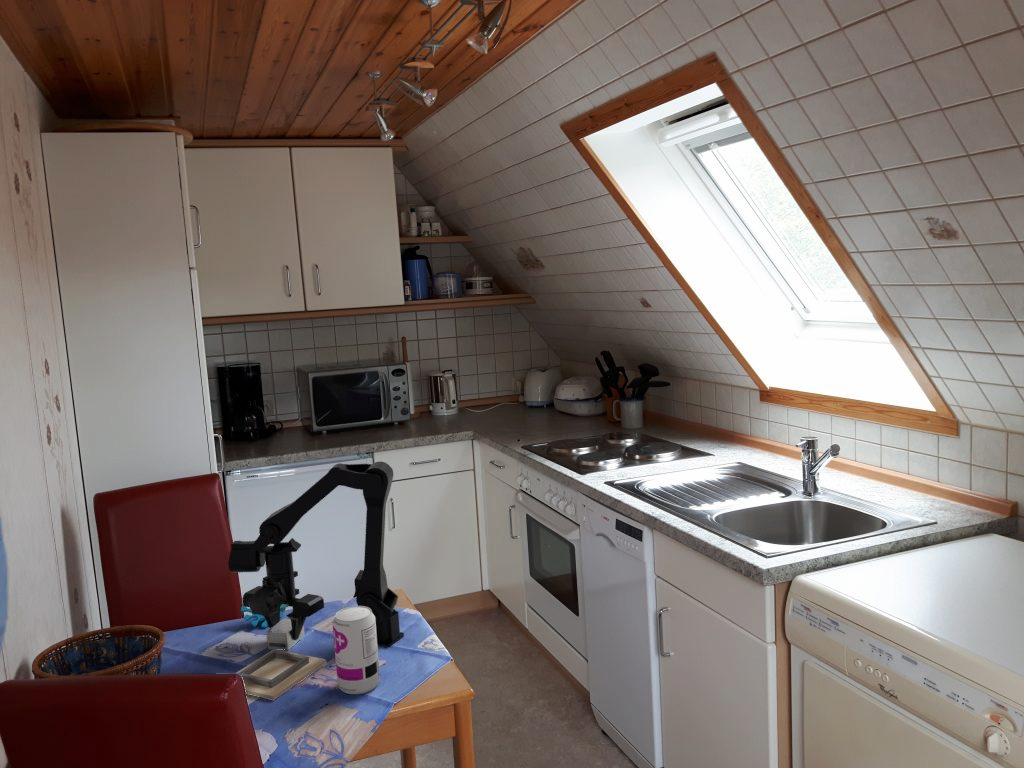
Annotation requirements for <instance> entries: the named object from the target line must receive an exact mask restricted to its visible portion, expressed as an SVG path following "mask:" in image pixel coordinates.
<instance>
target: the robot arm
mask: <svg viewBox="0 0 1024 768" xmlns="http://www.w3.org/2000/svg"><path fill="white" fill-rule="evenodd" d="M393 478H394V469H393V468H392V467H391V466H390V464H388V463H387V462H384V461H376V462H373V463H351V464H350V463H349V464H348V463H336V464H334V465H333V466H332V467H331V468H330V469H329V470H328V471H327V472H326V473H325V475H323V476H322V477H321V478H319V479H318V481H316V482H315V483H314V484H312V485H311V486H310V487H309V488H308V489H307V490H305V491H304V492H303V493H302V494H301V495H300V496H298V497H297V498H296V499H295V500H294V501H292V502H291V503H289V504H287V505H284V506H282V507H281V508H279V509H277V510H276V511H274V512H272V513H271V514H270V515H269V516H268V517H267V518H266V519H265V520H263V522H261V524H260V525H259V527H258V528H259V535H258V537H257V538H256V539H255V540H249V541H248V540H247V541H245V540H244V541H243V540H234V541H233V542H232V543H231V544H230V551H229V555H228V556H229V558H228V560H227V562H228V563H227V564H228V570H229V572H230V573H233V574H235V573H237V574H238V573H258V572H260V571H261V568H263V567H264V566H265V569H266V570H265V571H266V576H264V577H262V581H261V582H262V585H257V586H255V587H253V588H252V589H250V590H248V591H246V592H244V594H243V595H242V598H241V599H242V606H245V607H247V608H249V609H251V612H252V613H251V615H252V614H254V615H256V614H258V615H262V616H264V618H265V619H266V621H267V624H268V625H267V626H268V627H269V629H271V628H272V627H273V626H275V625H276V624H277V623H278V622H280V621H281V618H280V606H281V605H285V606H288V607H292V611H291V612H290V613H288V614H286V617H287V619H291V625H292V633H293V638H294V640H297V639H298V638H299V636H300V633H301V630H302V627H303V625H304V624H305V622H306V619H307V618H308V617H311V616H312V615H314V614H316V613H317V612H319V611H321V610H323V609H324V608H325V602H324V601H325V599H324V597H323V596H321V595H318V594H312V593H311V594H310V593H306V594H305V595H304V596H302V597H300V598H297V596H298V595H300V588H296V585H295V584H296V582H295V578H296V577H298V576H299V575H298V574H299V572H298V571H297V570H294V563H293V561H294V560H293V553H296V552H298V551H299V549H300V548H301V547H302V544H301V543H300V542H298V541H296V539H294V538H293V537H291V538H290V540H288V541H283V540H284V539H285V538H286V537H288V535H289V534H290V533H291V532H292V530H293V529H294V528H295V527H296V525H297V524H298V523H299V521H300V520H301V519H302V518H303V517H304V516H305V515H306V514H307V513H308V512H309V511H310V510H312V509H313V508H314V507H315V506H316V505H318V504H319V503H320V502H321V501H322V500H323V499H324V498H326V497H327V496H328V495H329V494H330V493H331V492H333V491H334V490H335V489H336V488H338V487H339V486H342V487H346V488H350V489H353V490H361V491H362V496H363V499H364V502H365V503H364V504H365V506H366V513H365V515H366V517H365V540H364V562H363V563H364V564H363V569H360V570H358V571H359V572H358V573H357V575H356V576H355V578H354V594H353V595H352V596H353V599H355V598H356V599H355V601H356V606H365V607H368V608H370V609H371V611H372V613H373V614H374V616H375V621H376V634H377V646H380V647H386V648H388V647H391V646H392V645H393V644H395V643H396V642H397V641H398V640H401V639H402V637H404V636H405V632H402V631H401V632H400V619H399V618H400V615H399V611H398V610H396V609H395V607H396V606H397V602H398V599H399V595H398V594H396V593H395V591H392V590H391V588H389V587H388V582H387V581H388V579H387V574H386V571H385V568H384V567H385V566H384V551H385V550H384V548H385V529H386V527H385V526H386V511H387V510H386V508H387V506H386V505H387V502H388V498H389V495H390V492H391V489H392V484H393V480H394V479H393ZM304 626H305V625H304Z"/></svg>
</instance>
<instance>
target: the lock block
mask: <svg viewBox="0 0 1024 768" xmlns="http://www.w3.org/2000/svg"><path fill="white" fill-rule="evenodd" d="M304 636H305V625H303V627H302V630H301V633H300V636H299V638H298V639H297V640H294V638H293V633H292V625H291V619H289V618H281V619H280V622H278V623H277V624H276V625H275V626H273V627H272V628H271V629H270V628H269V629H268V630H267V631H266V642H267V649H268V650H273V649H283V650H282V651H284V649H285V650H289V649H290V648H291V647H292V646H294V645H295V644H296V643H297V642H298V641H299V640H301V639H302V638H303V637H304ZM304 638H305V637H304ZM304 638H303V639H304ZM303 639H302V640H303ZM302 640H301V641H302ZM299 642H300V641H299ZM299 642H298V643H299ZM298 643H297V644H298ZM297 644H296V645H297ZM296 645H295V646H296ZM295 646H294V647H295ZM292 648H293V647H292ZM292 648H291V649H292ZM291 649H290V650H291ZM290 650H289V651H290Z"/></svg>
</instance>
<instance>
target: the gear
mask: <svg viewBox="0 0 1024 768" xmlns="http://www.w3.org/2000/svg"><path fill="white" fill-rule="evenodd" d="M286 608H289V606H285V605H281V606H280V619H283V616H284V615H285V611H286V610H287V609H286ZM240 612H241V613H246V612H247V613H250V614H251V615H250V614H247V613H246V614H244V616H243V618H244V621H245V622H249V620H251V619H255V618H256V619H255V620H252V621H251V623H250V624H251V626H252V627H253V628H255V627H257V625H258V623H260V621H262V620H264V622H262V623H261V627H260V628H263V629H267V628H268V626H269V625H268V623H267V621H266V619H265V618H264V616H262V615H258V614H256V615H254V614H252V612H251V609H250V608H249V607H245V606H243V605H242V606H241V609H240Z"/></svg>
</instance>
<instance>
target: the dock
mask: <svg viewBox="0 0 1024 768" xmlns="http://www.w3.org/2000/svg"><path fill="white" fill-rule="evenodd" d="M325 664H326V665H327V659H325V658H321V657H316V656H310V655H306V654H301V653H295V652H292V651H284V650H277V649H271V650H270V651H269V652H267V653H266V654H264V655H262V656H261V657H259V658H258V659H255V660H254V661H253V662H251V663H249V664H247V665H246V666H245V667H244V668H243V667H242V668H241V669H240V670H238V671H237V672H236V673H238V674H241V675H242V677H243V680H244V683H245V688H246V692H247V695H246V696H249V695H248V693H249V694H252V695H256V696H259V697H263V698H269V699H272V700H274V699H276V698H277V697H279V696H280V695H281V694H283V693H284V692H286V691H287V690H289V689H290V688H292V687H293V686H294V685H295V684H297V683H298V682H300V681H301V680H303V679H304V678H305V677H307V676H308V675H310V674H311V673H312V672H314V671H315V670H317V669H319V668H320V667H322V666H323V667H325V666H326V665H325ZM323 667H322V668H323ZM320 669H321V668H320ZM320 669H319V670H320ZM317 671H318V670H317ZM314 673H315V672H314ZM310 676H311V675H310ZM307 678H308V677H307ZM303 681H304V680H303ZM300 683H301V682H300ZM297 685H298V684H297ZM293 688H294V687H293ZM293 688H292V689H293ZM290 690H291V689H290ZM290 690H289V691H290ZM286 693H287V692H286ZM283 695H284V694H283ZM280 697H281V696H280ZM280 697H279V698H280ZM276 700H277V699H276Z"/></svg>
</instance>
